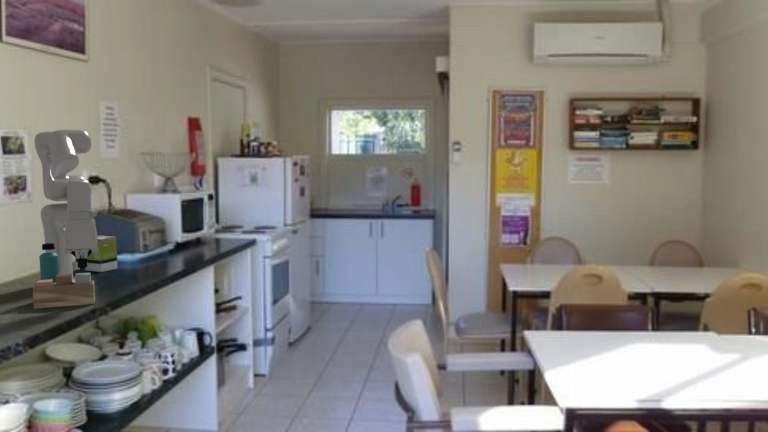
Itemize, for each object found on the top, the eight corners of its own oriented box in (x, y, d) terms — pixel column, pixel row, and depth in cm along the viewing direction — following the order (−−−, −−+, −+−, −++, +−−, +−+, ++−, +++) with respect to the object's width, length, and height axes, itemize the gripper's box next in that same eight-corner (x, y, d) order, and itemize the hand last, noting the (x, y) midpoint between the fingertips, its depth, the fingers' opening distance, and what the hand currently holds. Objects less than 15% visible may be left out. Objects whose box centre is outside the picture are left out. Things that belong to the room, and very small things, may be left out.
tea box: (75, 270, 309) (73, 237, 307) (92, 266, 318) (90, 234, 316) (101, 272, 303) (100, 238, 302) (118, 268, 312) (117, 235, 311)
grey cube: (76, 287, 243) (76, 273, 243) (91, 286, 245) (90, 272, 244) (75, 290, 239) (75, 275, 238) (90, 289, 240) (89, 274, 240)
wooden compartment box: (36, 304, 240) (35, 284, 240) (95, 300, 246) (94, 280, 246) (33, 308, 234) (32, 287, 233) (94, 303, 240) (93, 283, 239)
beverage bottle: (53, 301, 245) (50, 244, 243) (36, 300, 246) (33, 244, 244) (65, 297, 251) (62, 242, 249) (49, 297, 252) (46, 241, 250)
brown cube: (57, 289, 241) (57, 274, 241) (72, 288, 243) (71, 273, 242) (56, 291, 237) (55, 276, 236) (71, 290, 238) (70, 275, 238)
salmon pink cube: (38, 294, 239) (38, 280, 239) (53, 293, 241) (52, 279, 240) (37, 297, 235) (36, 282, 234) (52, 296, 236) (51, 281, 236)
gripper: (104, 214, 245) (106, 266, 247) (57, 216, 240) (60, 269, 242) (103, 216, 238) (105, 269, 240) (54, 218, 233) (57, 272, 235)
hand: (82, 269), depth 241 cm, fingers closed
